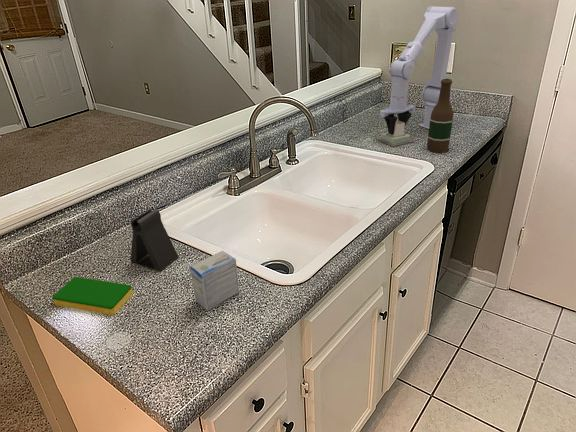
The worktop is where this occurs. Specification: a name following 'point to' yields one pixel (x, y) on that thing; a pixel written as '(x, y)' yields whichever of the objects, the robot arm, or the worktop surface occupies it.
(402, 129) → the plug
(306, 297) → the worktop surface
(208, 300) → the medicine box
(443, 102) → the beer bottle
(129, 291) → the dish sponge
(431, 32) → the robot arm
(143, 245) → the phone stand
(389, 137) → the socket block
